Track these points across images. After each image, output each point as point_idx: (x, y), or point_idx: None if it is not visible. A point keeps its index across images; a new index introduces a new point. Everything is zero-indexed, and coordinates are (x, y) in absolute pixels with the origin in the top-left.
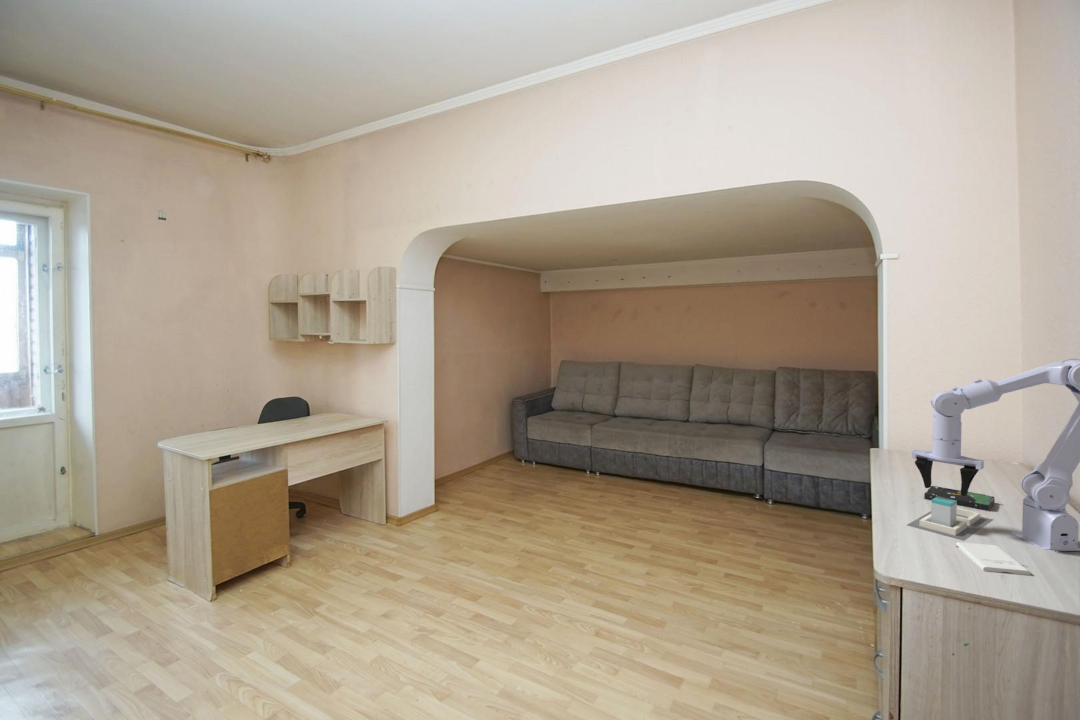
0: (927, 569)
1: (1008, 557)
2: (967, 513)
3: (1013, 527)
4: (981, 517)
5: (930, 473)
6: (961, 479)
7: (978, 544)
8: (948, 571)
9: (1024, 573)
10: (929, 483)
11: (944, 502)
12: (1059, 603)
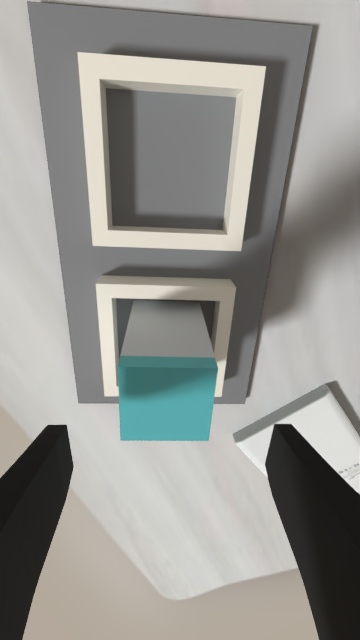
0: (216, 558)
1: (352, 448)
2: (203, 91)
3: None
4: (258, 39)
5: (11, 536)
6: (317, 626)
7: (286, 422)
8: (247, 545)
9: None
10: (60, 473)
11: (181, 439)
12: None
